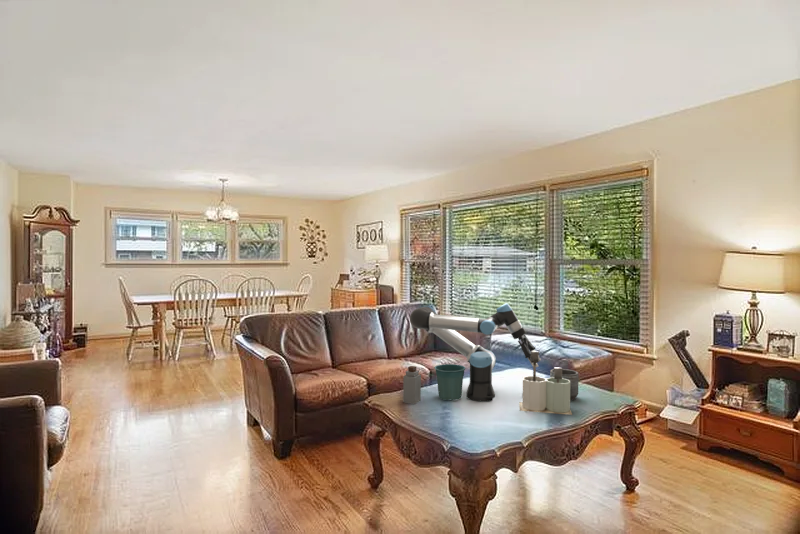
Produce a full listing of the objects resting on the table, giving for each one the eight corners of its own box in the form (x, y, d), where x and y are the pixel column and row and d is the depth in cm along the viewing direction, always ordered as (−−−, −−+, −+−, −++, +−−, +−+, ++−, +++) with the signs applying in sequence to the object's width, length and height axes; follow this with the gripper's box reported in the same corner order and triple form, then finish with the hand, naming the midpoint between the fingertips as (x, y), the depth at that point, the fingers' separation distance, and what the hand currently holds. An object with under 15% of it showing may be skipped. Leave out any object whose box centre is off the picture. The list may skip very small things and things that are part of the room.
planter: (580, 404, 240) (580, 375, 240) (551, 403, 243) (551, 374, 243) (575, 396, 254) (576, 369, 254) (548, 395, 257) (548, 367, 257)
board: (519, 413, 227) (519, 410, 227) (519, 404, 240) (519, 402, 240) (572, 417, 221) (572, 414, 221) (568, 408, 235) (568, 405, 235)
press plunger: (525, 384, 228) (526, 352, 228) (525, 380, 237) (525, 349, 236) (543, 385, 226) (544, 353, 226) (542, 381, 235) (543, 350, 234)
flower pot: (436, 402, 243) (436, 371, 243) (432, 393, 260) (433, 363, 259) (467, 402, 244) (467, 371, 243) (462, 392, 260) (462, 363, 260)
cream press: (522, 409, 228) (523, 381, 227) (522, 401, 242) (522, 374, 241) (546, 411, 225) (546, 382, 225) (544, 402, 239) (544, 375, 239)
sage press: (546, 411, 225) (547, 370, 225) (544, 402, 239) (545, 363, 239) (570, 413, 223) (571, 371, 222) (567, 404, 236) (568, 364, 236)
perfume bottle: (403, 402, 243) (403, 367, 242) (409, 398, 249) (409, 364, 248) (415, 404, 240) (415, 368, 239) (420, 400, 246) (421, 366, 245)
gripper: (519, 330, 245) (541, 366, 242) (525, 322, 269) (545, 355, 265) (507, 337, 248) (528, 373, 245) (513, 329, 271) (533, 361, 268)
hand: (537, 364), depth 255 cm, fingers open, 13 cm apart
